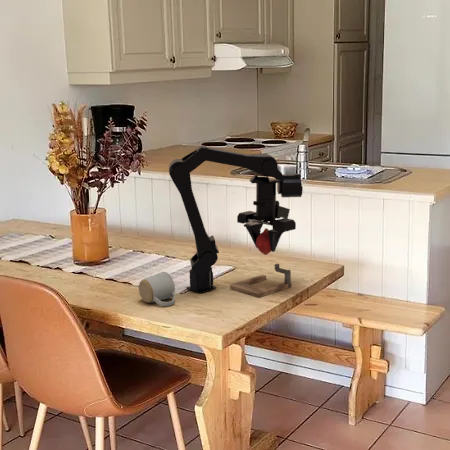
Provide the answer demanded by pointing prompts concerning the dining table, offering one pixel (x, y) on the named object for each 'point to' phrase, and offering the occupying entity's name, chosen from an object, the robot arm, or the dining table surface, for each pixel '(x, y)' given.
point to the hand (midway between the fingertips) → (265, 249)
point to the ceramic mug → (157, 289)
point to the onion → (263, 242)
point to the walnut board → (259, 292)
